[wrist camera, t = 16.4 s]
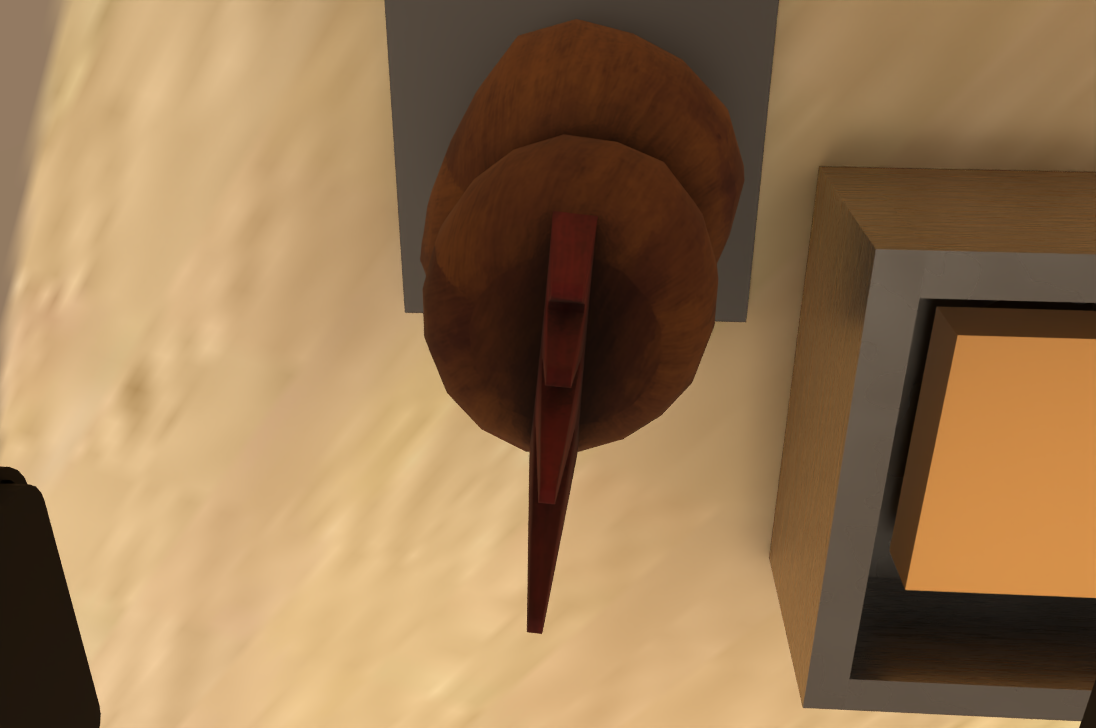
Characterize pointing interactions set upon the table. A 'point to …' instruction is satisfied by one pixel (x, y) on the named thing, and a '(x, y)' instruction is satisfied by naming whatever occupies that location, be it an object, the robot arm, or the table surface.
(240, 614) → the table surface
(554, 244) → the wooden figurine
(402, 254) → the mat
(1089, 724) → the robot arm
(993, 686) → the box
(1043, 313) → the button
